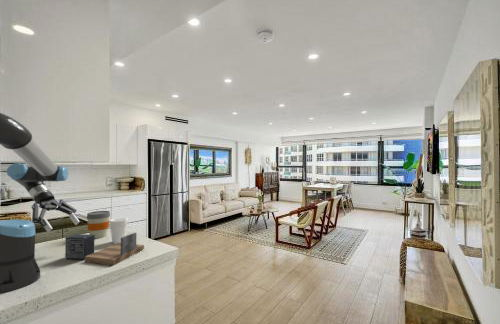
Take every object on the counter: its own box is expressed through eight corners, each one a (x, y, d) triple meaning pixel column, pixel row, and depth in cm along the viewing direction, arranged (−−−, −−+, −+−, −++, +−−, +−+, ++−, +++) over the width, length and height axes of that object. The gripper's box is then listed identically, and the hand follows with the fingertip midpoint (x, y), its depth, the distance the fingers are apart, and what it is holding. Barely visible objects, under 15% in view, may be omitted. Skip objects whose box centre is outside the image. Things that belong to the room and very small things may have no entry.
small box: (95, 255, 116) (95, 234, 116) (84, 260, 110) (85, 238, 110) (75, 254, 117) (76, 233, 117) (64, 259, 111) (64, 237, 111)
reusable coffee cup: (106, 238, 144) (107, 213, 144) (83, 240, 140) (83, 215, 140) (112, 232, 156) (112, 210, 156) (90, 234, 152) (90, 211, 152)
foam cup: (110, 240, 139) (110, 218, 139) (128, 238, 143) (128, 217, 143) (108, 245, 131) (108, 222, 131) (127, 243, 134) (127, 220, 135)
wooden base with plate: (113, 265, 104) (114, 241, 104) (85, 261, 108) (85, 239, 108) (144, 249, 124) (144, 229, 124) (118, 247, 127) (119, 228, 127)
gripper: (62, 197, 133) (83, 225, 129) (8, 204, 109) (32, 239, 105) (70, 188, 132) (91, 216, 128) (17, 193, 108) (41, 228, 104)
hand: (64, 226), depth 117 cm, fingers open, 13 cm apart
